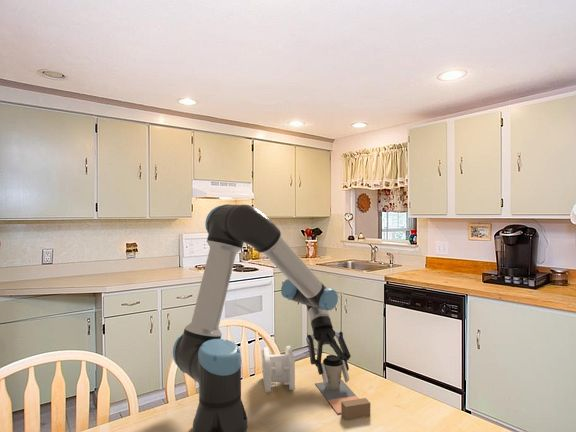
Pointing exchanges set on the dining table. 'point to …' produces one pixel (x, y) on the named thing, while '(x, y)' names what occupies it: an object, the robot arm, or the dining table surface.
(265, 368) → the cable organizer
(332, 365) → the coffee cup
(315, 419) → the dining table surface
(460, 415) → the dining table surface
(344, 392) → the runner
